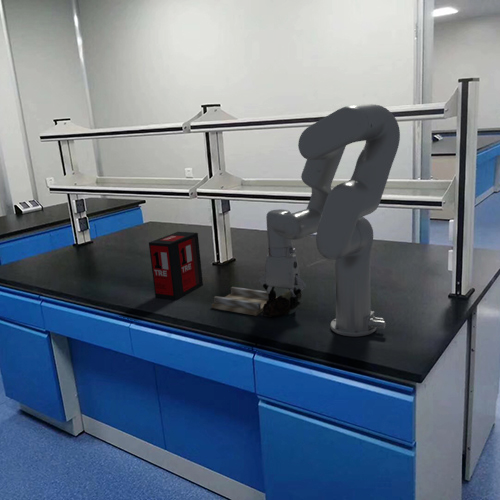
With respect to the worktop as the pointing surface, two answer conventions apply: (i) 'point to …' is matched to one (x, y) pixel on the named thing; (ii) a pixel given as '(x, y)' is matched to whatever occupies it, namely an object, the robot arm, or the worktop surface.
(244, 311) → the pipe cradle
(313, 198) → the robot arm
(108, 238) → the worktop surface
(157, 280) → the cleaning product box
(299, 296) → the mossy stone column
